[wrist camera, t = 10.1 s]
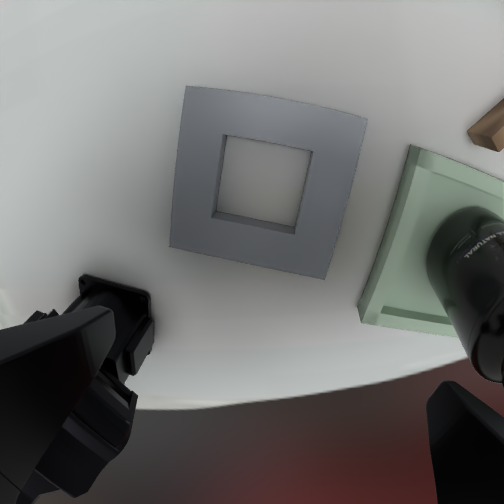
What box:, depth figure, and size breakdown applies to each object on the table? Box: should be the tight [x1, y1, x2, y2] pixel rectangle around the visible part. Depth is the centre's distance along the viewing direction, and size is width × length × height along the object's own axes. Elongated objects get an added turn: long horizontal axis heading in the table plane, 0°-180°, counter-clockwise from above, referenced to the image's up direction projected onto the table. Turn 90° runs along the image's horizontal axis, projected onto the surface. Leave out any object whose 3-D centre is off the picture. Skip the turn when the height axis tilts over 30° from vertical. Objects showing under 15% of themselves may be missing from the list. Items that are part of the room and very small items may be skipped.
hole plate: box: [169, 86, 367, 280], centre depth 18 cm, size 10×10×1 cm
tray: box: [358, 145, 504, 338], centre depth 18 cm, size 12×12×2 cm
